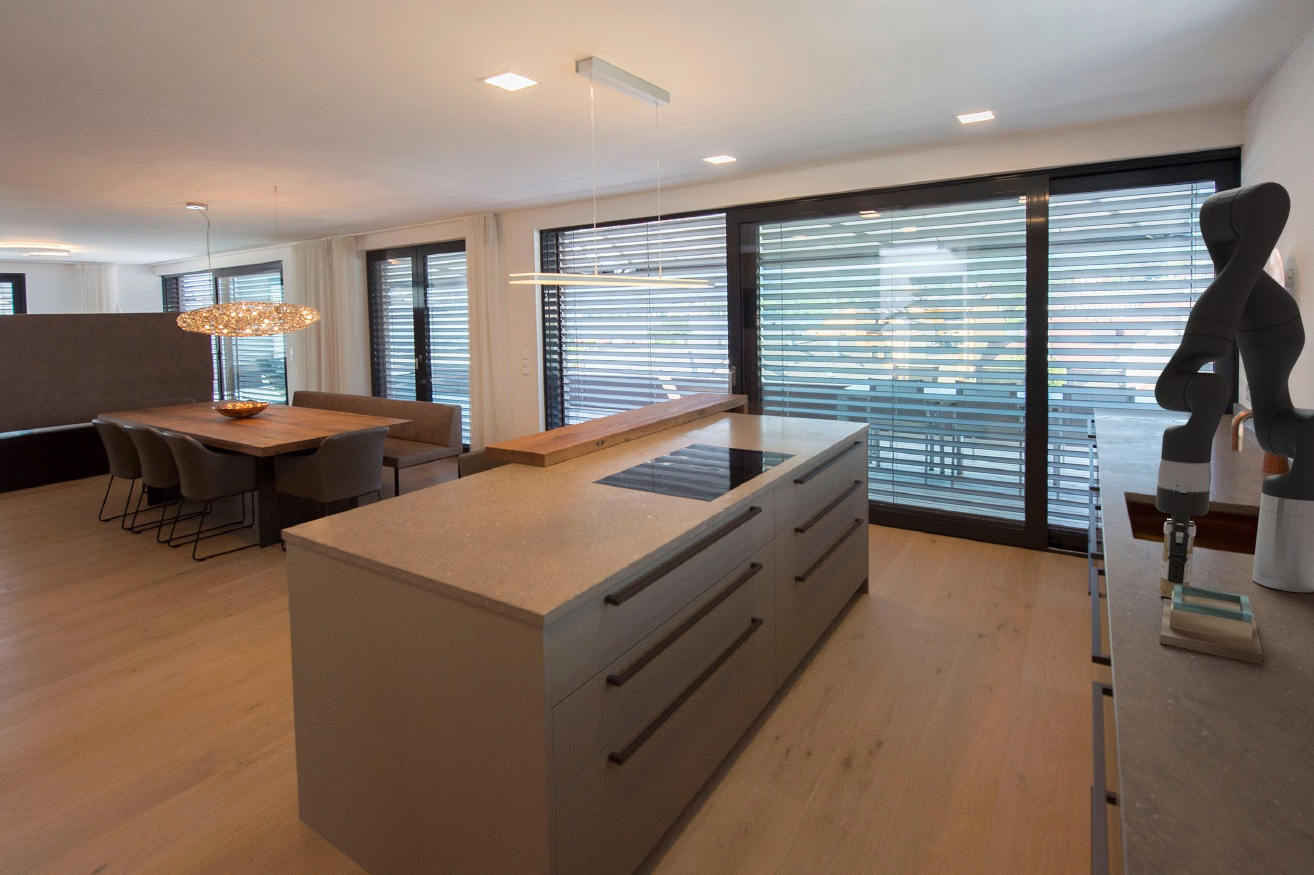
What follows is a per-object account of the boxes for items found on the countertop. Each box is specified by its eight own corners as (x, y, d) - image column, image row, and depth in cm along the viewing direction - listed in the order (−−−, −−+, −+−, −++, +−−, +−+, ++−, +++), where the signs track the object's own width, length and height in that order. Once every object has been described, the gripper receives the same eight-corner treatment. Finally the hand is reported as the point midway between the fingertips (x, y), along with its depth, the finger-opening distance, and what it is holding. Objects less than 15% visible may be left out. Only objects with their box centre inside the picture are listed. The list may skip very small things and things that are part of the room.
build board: (1163, 606, 124) (1166, 575, 123) (1252, 622, 116) (1256, 589, 116) (1159, 643, 109) (1163, 608, 109) (1261, 664, 102) (1265, 626, 101)
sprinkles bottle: (1160, 589, 131) (1166, 518, 129) (1191, 595, 127) (1197, 522, 126) (1156, 596, 127) (1162, 524, 125) (1188, 602, 124) (1194, 528, 122)
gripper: (1158, 476, 132) (1151, 563, 135) (1155, 490, 121) (1148, 586, 124) (1209, 480, 128) (1201, 570, 130) (1211, 495, 117) (1202, 594, 119)
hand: (1175, 577), depth 127 cm, fingers closed on sprinkles bottle, 4 cm apart
